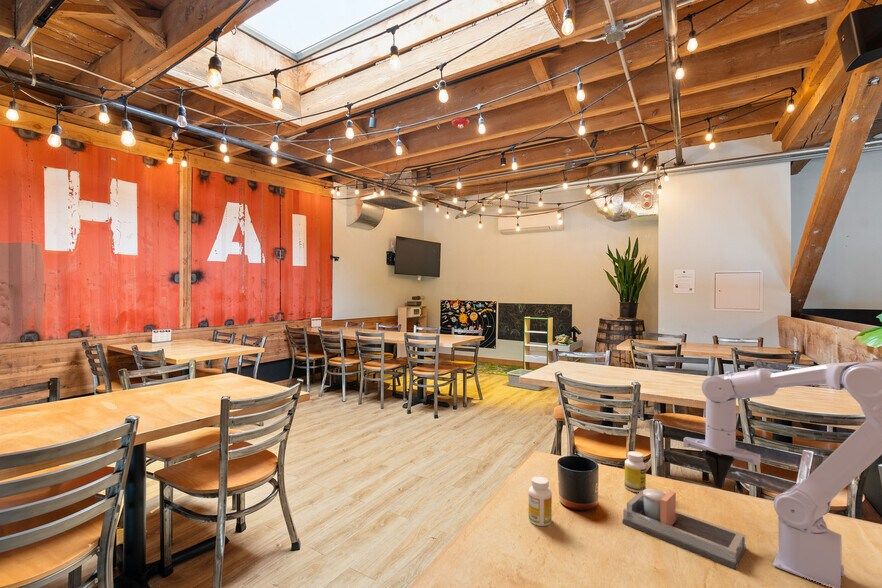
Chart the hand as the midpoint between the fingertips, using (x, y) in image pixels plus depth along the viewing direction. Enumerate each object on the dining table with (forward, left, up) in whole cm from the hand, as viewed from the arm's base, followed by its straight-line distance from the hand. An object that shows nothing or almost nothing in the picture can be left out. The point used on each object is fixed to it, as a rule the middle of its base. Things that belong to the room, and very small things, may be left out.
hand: (719, 485), depth 92 cm
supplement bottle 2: (+22, -7, -11) cm, 25 cm away
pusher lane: (+6, +8, -10) cm, 14 cm away
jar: (+11, +8, -10) cm, 17 cm away
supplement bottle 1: (+31, +27, -11) cm, 42 cm away
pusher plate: (+8, +8, -9) cm, 15 cm away
